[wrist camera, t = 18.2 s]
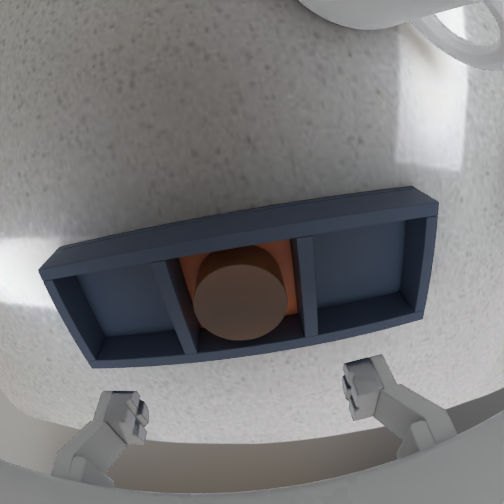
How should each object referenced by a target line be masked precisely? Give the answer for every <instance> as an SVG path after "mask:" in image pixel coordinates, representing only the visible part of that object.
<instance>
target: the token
mask: <svg viewBox="0 0 504 504" xmlns="http://www.w3.org/2000/svg"><path fill="white" fill-rule="evenodd" d="M287 305H288V298H287V293H286V289H285V285H284V281H283V277H282V273H281V270H280V267H279V265H278V263H277V261H276V260H275V259H274V257H273V256H272V255H271V254H270V253H268V252H267V251H266V250H264V249H262V248H260V247H258V246H255V245H250V246H244V247H238V248H232V249H226V250H220V251H214V252H211V253H210V254H209V255H208V256H207V257H206V258H205V259H204V260H203V262H202V263H201V265H200V268H199V270H198V274H197V280H196V285H195V291H194V297H193V308H194V312H195V315H196V317H197V319H198V320H199V322H200V323H201V324H202V326H203V327H205V328H206V329H207V330H208V331H210V332H211V333H213V334H214V335H217V336H219V337H222V338H225V339H229V340H250V339H255V338H258V337H261V336H263V335H265V334H267V333H269V332H270V331H272V330H273V329H274V328H275V327H276V326H278V324H279V323H280V322H281V321H282V319H283V317H284V315H285V313H286V310H287Z"/></svg>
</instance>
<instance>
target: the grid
mask: <svg viewBox="0 0 504 504" xmlns="http://www.w3.org/2000/svg"><path fill="white" fill-rule="evenodd" d="M438 205H439V203H438V201H436V200H434V199H433V198H431V197H429V196H428V195H426V194H425V193H423V192H421V191H420V190H418V189H416V188H415V187H413V186H411V187H402V188H394V189H385V190H377V191H369V192H361V193H354V194H346V195H339V196H332V197H325V198H318V199H311V200H304V201H297V202H291V203H284V204H278V205H272V206H266V207H260V208H253V209H248V210H242V211H236V212H230V213H224V214H219V215H213V216H208V217H202V218H197V219H191V220H186V221H181V222H176V223H170V224H165V225H160V226H155V227H150V228H145V229H140V230H135V231H131V232H126V233H121V234H116V235H112V236H107V237H103V238H98V239H94V240H89V241H85V242H80V243H76V244H72V245H67V246H63V247H59V248H58V249H57V250H56V252H55V253H54V254H53V255H52V256H51V257H50V258H49V259H48V260H47V261H46V262H45V263H44V264H43V265H42V266H41V267H40V269H39V270H38V271H39V273H40V275H41V278H42V280H43V281H44V284H45V286H46V288H47V290H48V292H49V294H50V296H51V298H52V300H53V302H54V304H55V306H56V308H57V310H58V312H59V314H60V316H61V317H62V319H63V321H64V323H65V325H66V326H67V328H68V330H69V332H70V333H71V335H72V337H73V339H74V340H75V342H76V344H77V345H78V347H79V348H80V350H81V352H82V353H83V355H84V357H85V358H86V360H87V361H88V363H89V364H90V366H91V367H92V368H125V367H144V366H159V365H172V364H184V363H194V362H204V361H213V360H221V359H229V358H237V357H244V356H251V355H258V354H265V353H271V352H277V351H283V350H289V349H295V348H300V347H306V346H311V345H316V344H321V343H326V342H331V341H336V340H340V339H345V338H350V337H354V336H358V335H363V334H367V333H371V332H375V331H379V330H383V329H387V328H391V327H395V326H399V325H402V324H406V323H410V322H413V321H417V320H420V319H423V315H424V309H425V305H426V299H427V294H428V288H429V282H430V276H431V270H432V263H433V256H434V248H435V239H436V229H437V218H438V217H437V215H438ZM250 245H255V246H258V247H260V248H262V249H264V250H266V251H267V252H268V253H270V254H271V255H272V256H273V257H274V259H275V260H276V261H277V263H278V265H279V267H280V270H281V273H282V277H283V281H284V285H285V289H286V293H287V298H288V305H287V310H286V313H285V315H284V317H283V319H282V321H281V322H280V323H279V324H278V326H276V327H275V328H274V329H273V330H272V331H270V332H269V333H267V334H265V335H263V336H261V337H258V338H255V339H250V340H229V339H225V338H222V337H219V336H217V335H214V334H213V333H211V332H210V331H208V330H207V329H206V328H205V327H203V326H202V324H201V323H200V322H199V320H198V319H197V317H196V315H195V312H194V308H193V297H194V291H195V285H196V280H197V274H198V270H199V268H200V265H201V263H202V262H203V260H204V259H205V258H206V257H207V256H208V255H209V254H210V253H211V252H214V251H220V250H226V249H232V248H238V247H244V246H250Z"/></svg>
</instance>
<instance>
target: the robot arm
mask: <svg viewBox="0 0 504 504" xmlns="http://www.w3.org/2000/svg"><path fill="white" fill-rule="evenodd" d="M343 371H344V374H345V375H344V376H343V380H342V383H343V390H344V394H345V397H346V399H347V400H349V401H350V402H349V410H350V413H351V416H352V419H353V421H355V420H359V419H363V418H367V417H371V416H374V417H375V418H376V419H377V420H378V421H379V422H381V423H382V424H383V425H384V426H386V427H387V428H388V429H389V430H391V431H392V432H393V433H394V434H396V435H397V436H398V437H400V438H401V439H402V440H403V442H402V444H401V446H400V448H399V450H398V451H397V453H396V456H397V458H398V459H397V460H395V461H392V462H389V463H386V464H383V465H379V466H376V467H373V468H369V469H366V470H362V471H359V472H355V473H351V474H347V475H343V476H339V477H335V478H331V479H326V480H322V481H316V482H311V483H306V484H300V485H294V486H288V487H281V488H274V489H265V490H256V491H245V492H231V493H203V494H202V493H201V494H200V493H198V494H197V493H192V494H191V493H162V492H146V491H135V490H127V489H118V488H114V481H113V480H112V479H110V478H109V477H108V476H106V475H105V474H106V473H107V471H108V470H109V469H110V467H111V466H112V465H113V463H114V462H115V461H116V460H117V458H118V457H119V456H120V454H121V453H122V452H123V450H124V449H125V448H126V446H127V444H133V445H134V444H135V445H137V444H138V445H144V444H145V440H146V434H147V431H146V429H145V428H144V427H145V426H146V425H147V424H148V422H149V410H148V407H147V405H146V404H145V402H143V401H141V400H140V395H139V394H138V392H137V391H103V392H102V393H101V396H100V399H99V402H98V405H97V409H96V412H95V415H94V418H93V421H90V422H89V423H88V424H87V425H85V426H84V427H83V428H82V429H81V430H80V431H79V432H78V433H77V434H76V435H75V436H74V437H73V438H72V439H71V440H70V441H69V442H68V443H67V444H66V445H64V447H63V448H61V449H60V450H59V451H58V453H57V456H56V459H55V463H54V467H53V470H52V473H51V475H48V474H44V473H40V472H37V471H34V470H30V469H27V468H24V467H21V466H18V465H15V464H12V463H9V462H6V461H4V460H1V459H0V504H504V410H503V411H502V412H500V413H498V414H496V415H494V416H493V417H491V418H489V419H487V420H486V421H484V422H482V423H480V424H478V425H476V426H475V427H473V428H470V429H468V430H466V431H464V432H462V433H461V434H457V432H456V430H455V428H454V426H453V424H452V422H451V420H450V418H449V416H448V414H447V412H446V410H445V409H443V408H441V407H440V406H438V405H436V404H434V403H433V402H431V401H429V400H427V399H426V398H424V397H422V396H421V395H419V394H417V393H415V392H414V391H412V390H410V389H409V388H407V387H405V386H403V385H402V384H399V385H397V383H396V381H395V379H394V377H393V375H392V373H391V371H390V369H389V367H388V365H387V363H386V361H385V359H384V357H383V355H381V354H380V355H376V356H373V357H369V358H364V359H360V360H356V361H352V362H349V363H345V364H344V366H343Z"/></svg>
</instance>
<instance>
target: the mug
mask: <svg viewBox="0 0 504 504" xmlns="http://www.w3.org/2000/svg"><path fill="white" fill-rule="evenodd" d="M299 1H300V2H301V3H302V4H303V5H304V6H305V7H307V8H308V9H309V10H311V11H312V12H314V13H316V14H317V15H319V16H320V17H322V18H324V19H326V20H328V21H331V22H333V23H336V24H338V25H342V26H345V27H348V28H354V29H361V30H378V29H384V28H389V27H393V26H396V25H399V24H403V23H406V22H409V21H410V22H412V24H413V25H414V26H415V27H416V28H417V29H418V30H419V31H420V32H421V33H422V34H423V35H424V36H425V37H426V38H428V39H429V40H430V41H431V42H432V43H433V44H435V45H436V46H437V47H438V48H440V49H441V50H442V51H444V52H445V53H447V54H448V55H450V56H452V57H453V58H455V59H457V60H459V61H461V62H463V63H465V64H467V65H470V66H473V67H475V68H479V69H483V70H490V71H503V70H504V0H299ZM482 1H483V2H484V3H485V4H486V5H487V7H488V8H489V10H490V11H491V13H492V14H493V16H494V18H495V19H496V21H497V23H498V26H499V28H500V39H499V40H498V41H497V42H496V43H494V44H490V45H481V44H476V43H472V42H469V41H467V40H465V39H463V38H461V37H459V36H457V35H456V34H454V33H453V32H452V31H450V30H449V29H448V28H447V27H446V26H445V25H444V24H443V23H442V22H441V21H440V20H439V19H438V18H437V17H436V15H435V13H438V12H442V11H446V10H449V9H453V8H457V7H460V6H464V5H468V4H472V3H477V2H482Z"/></svg>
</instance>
